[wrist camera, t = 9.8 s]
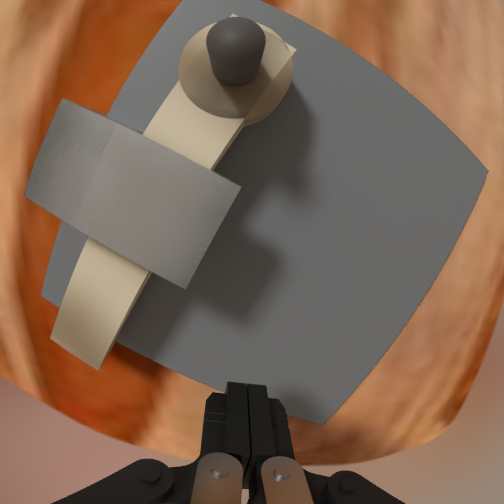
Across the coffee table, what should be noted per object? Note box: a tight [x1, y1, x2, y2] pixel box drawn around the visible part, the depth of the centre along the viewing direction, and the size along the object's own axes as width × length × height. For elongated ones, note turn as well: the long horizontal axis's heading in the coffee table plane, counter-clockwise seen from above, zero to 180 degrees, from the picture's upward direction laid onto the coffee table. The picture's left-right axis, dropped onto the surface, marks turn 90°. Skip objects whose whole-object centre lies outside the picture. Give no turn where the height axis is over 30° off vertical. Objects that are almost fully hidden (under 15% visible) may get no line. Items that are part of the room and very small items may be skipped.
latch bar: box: [50, 14, 297, 370], centre depth 11 cm, size 17×4×5 cm, turn 146°
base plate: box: [41, 0, 489, 425], centre depth 15 cm, size 20×20×1 cm
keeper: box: [24, 98, 241, 289], centre depth 12 cm, size 4×8×4 cm, turn 60°
